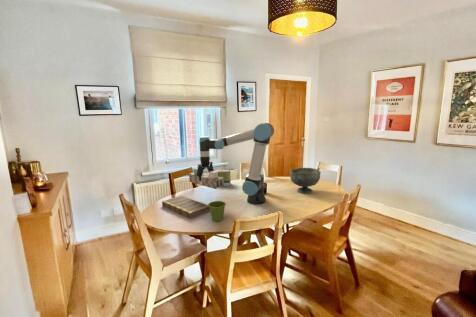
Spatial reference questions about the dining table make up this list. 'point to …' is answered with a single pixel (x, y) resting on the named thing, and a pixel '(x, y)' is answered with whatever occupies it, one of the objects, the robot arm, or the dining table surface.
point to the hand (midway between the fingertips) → (205, 183)
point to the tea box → (225, 176)
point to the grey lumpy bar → (207, 180)
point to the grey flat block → (186, 206)
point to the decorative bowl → (305, 178)
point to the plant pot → (217, 210)
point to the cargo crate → (213, 174)
